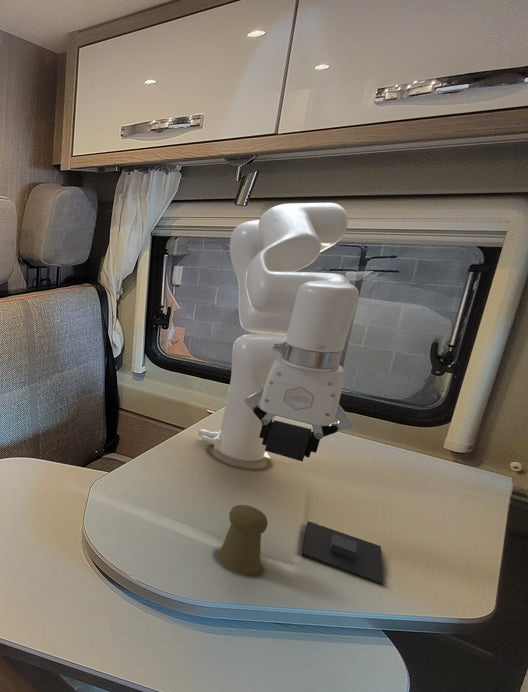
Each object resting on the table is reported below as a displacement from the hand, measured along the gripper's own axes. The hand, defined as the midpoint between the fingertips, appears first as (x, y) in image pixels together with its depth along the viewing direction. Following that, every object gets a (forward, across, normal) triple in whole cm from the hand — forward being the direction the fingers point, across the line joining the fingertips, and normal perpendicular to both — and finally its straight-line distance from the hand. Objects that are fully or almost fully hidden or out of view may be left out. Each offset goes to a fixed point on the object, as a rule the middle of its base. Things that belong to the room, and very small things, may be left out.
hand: (286, 447), depth 82 cm
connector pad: (0, 0, 0) cm, 0 cm away
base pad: (+16, +11, -3) cm, 19 cm away
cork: (+16, -2, -17) cm, 24 cm away
